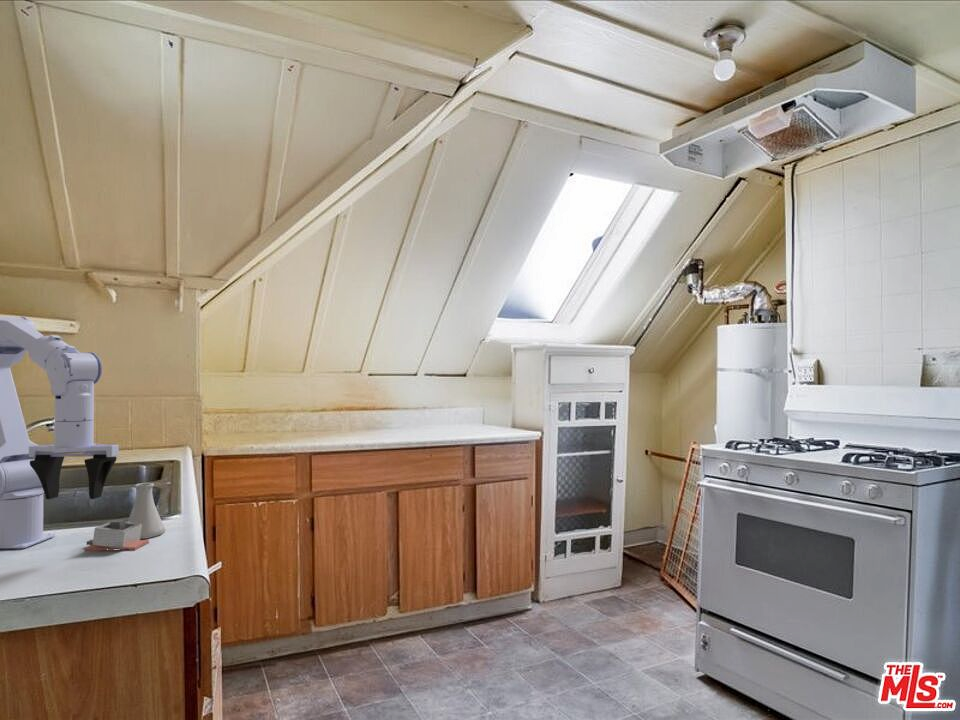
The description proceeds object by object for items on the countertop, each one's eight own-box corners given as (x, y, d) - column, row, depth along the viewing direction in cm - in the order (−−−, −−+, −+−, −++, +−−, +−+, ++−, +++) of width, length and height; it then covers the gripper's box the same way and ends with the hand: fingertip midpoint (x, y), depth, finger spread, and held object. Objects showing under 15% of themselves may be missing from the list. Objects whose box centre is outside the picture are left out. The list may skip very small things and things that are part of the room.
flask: (172, 530, 117) (173, 481, 117) (148, 541, 110) (149, 488, 110) (139, 529, 118) (139, 480, 118) (113, 540, 111) (113, 487, 111)
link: (92, 544, 104) (94, 528, 104) (111, 536, 109) (113, 520, 109) (122, 548, 104) (124, 531, 104) (139, 539, 109) (142, 523, 109)
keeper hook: (80, 550, 104) (80, 524, 104) (96, 543, 109) (96, 517, 109) (135, 550, 104) (135, 523, 105) (149, 542, 109) (149, 517, 109)
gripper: (15, 422, 98) (14, 503, 98) (101, 422, 99) (100, 502, 98) (46, 419, 106) (45, 494, 105) (126, 418, 106) (125, 493, 105)
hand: (73, 497), depth 102 cm, fingers open, 7 cm apart
